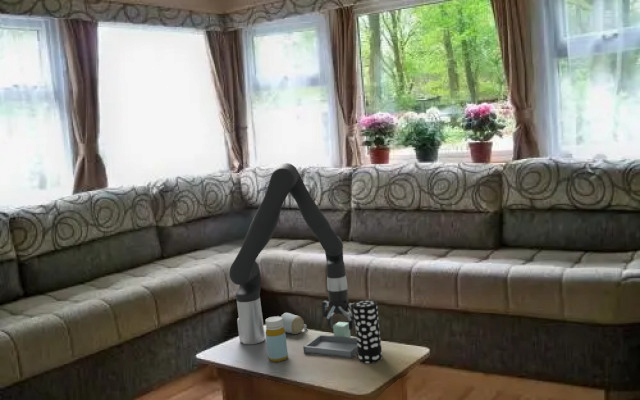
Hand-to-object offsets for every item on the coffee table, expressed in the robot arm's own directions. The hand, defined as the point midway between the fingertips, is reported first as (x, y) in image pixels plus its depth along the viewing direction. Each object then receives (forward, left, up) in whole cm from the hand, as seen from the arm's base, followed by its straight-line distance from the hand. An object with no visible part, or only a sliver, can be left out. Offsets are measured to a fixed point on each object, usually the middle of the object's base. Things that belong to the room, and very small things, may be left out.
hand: (341, 328), depth 250 cm
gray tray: (+2, -10, -4) cm, 11 cm away
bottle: (-14, -23, -4) cm, 28 cm away
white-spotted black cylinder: (+19, -15, -4) cm, 24 cm away
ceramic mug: (-24, +3, -5) cm, 24 cm away
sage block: (0, 0, -4) cm, 4 cm away
